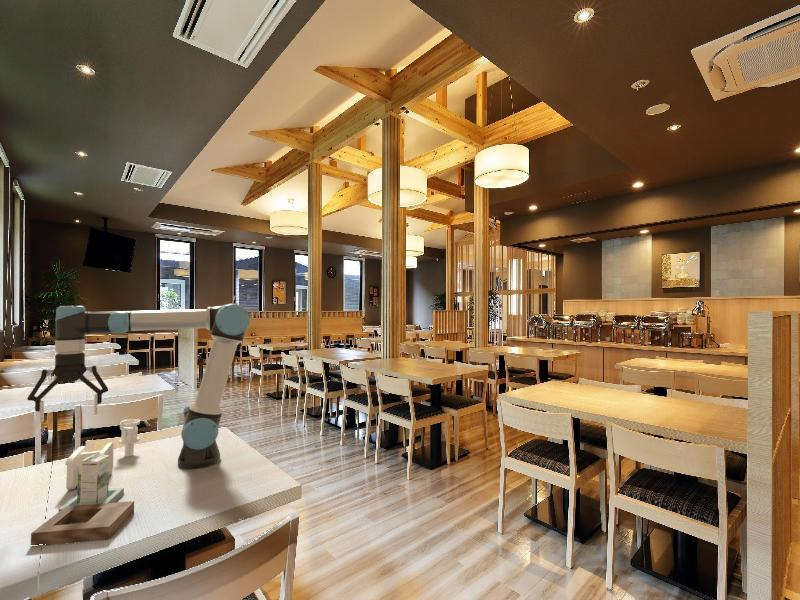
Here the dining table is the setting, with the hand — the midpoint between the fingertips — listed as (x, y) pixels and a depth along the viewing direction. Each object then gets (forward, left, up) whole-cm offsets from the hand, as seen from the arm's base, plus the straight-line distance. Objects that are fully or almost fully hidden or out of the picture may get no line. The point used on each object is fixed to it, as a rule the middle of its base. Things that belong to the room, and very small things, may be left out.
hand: (69, 417), depth 129 cm
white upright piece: (-2, -37, -26) cm, 45 cm away
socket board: (-17, +22, -26) cm, 38 cm away
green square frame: (-11, +7, -26) cm, 29 cm away
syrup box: (-11, +7, -26) cm, 29 cm away
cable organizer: (-1, -11, -26) cm, 28 cm away
